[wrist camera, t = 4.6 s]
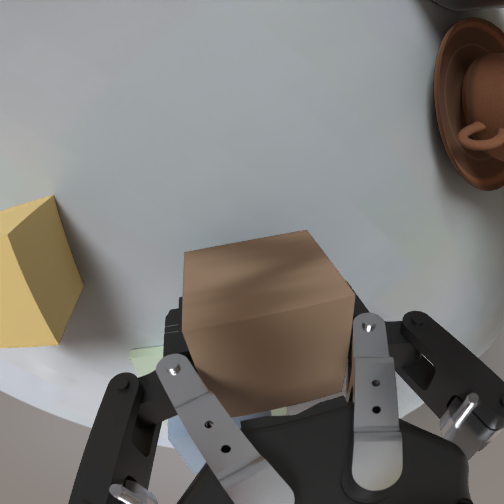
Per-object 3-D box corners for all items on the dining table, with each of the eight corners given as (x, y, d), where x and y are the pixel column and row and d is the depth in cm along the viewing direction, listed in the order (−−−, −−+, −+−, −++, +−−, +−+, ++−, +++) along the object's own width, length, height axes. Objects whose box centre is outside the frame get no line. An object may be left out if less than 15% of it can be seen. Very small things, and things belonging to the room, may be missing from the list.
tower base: (282, 325, 19) (310, 395, 14) (284, 407, 24) (302, 462, 19) (130, 349, 18) (122, 424, 13) (171, 425, 23) (174, 483, 18)
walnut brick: (306, 229, 14) (355, 294, 9) (308, 320, 16) (341, 391, 12) (184, 252, 13) (181, 331, 9) (209, 341, 16) (217, 419, 12)
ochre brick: (54, 194, 13) (7, 234, 9) (84, 285, 16) (58, 345, 11) (-16, 216, 12) (-64, 257, 8) (16, 295, 15) (-16, 348, 11)
